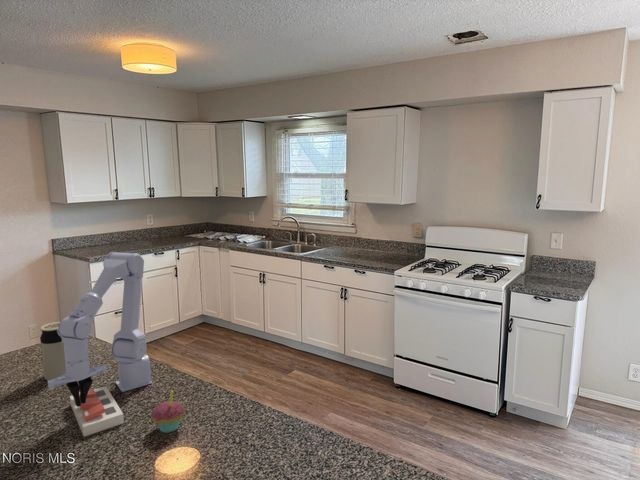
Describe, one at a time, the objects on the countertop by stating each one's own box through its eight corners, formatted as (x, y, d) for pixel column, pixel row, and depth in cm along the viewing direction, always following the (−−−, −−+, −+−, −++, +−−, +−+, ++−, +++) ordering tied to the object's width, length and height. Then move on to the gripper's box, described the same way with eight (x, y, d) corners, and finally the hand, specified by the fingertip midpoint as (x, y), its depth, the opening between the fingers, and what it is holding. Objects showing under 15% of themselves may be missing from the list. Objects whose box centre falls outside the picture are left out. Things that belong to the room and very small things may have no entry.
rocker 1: (92, 393, 131) (93, 388, 131) (95, 397, 128) (96, 393, 128) (74, 395, 127) (74, 391, 127) (76, 400, 125) (77, 395, 125)
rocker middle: (97, 400, 126) (97, 396, 126) (100, 405, 123) (100, 401, 123) (78, 404, 123) (78, 399, 123) (80, 409, 120) (80, 405, 120)
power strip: (99, 381, 143) (98, 373, 143) (123, 423, 120) (123, 413, 120) (64, 391, 137) (63, 382, 137) (83, 436, 114) (82, 426, 113)
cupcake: (191, 422, 120) (189, 382, 118) (171, 440, 112) (169, 397, 111) (165, 416, 123) (163, 377, 121) (144, 433, 115) (142, 392, 113)
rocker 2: (102, 406, 121) (101, 402, 121) (105, 412, 119) (104, 408, 118) (83, 415, 119) (82, 411, 118) (86, 421, 116) (84, 417, 115)
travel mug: (76, 374, 149) (71, 324, 146) (51, 383, 142) (46, 331, 139) (64, 368, 153) (59, 320, 150) (40, 377, 147) (34, 327, 144)
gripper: (99, 347, 128) (102, 390, 130) (43, 362, 117) (47, 408, 119) (108, 354, 123) (111, 399, 125) (50, 370, 112) (54, 418, 114)
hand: (80, 404), depth 122 cm, fingers closed, pressing on rocker middle
